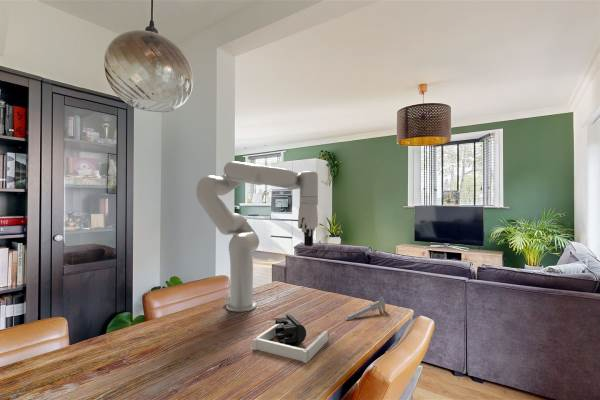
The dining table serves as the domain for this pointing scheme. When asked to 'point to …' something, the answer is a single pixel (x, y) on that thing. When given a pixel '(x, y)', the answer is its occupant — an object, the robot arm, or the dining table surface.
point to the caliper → (369, 309)
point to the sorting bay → (287, 350)
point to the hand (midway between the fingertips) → (308, 245)
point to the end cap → (290, 331)
